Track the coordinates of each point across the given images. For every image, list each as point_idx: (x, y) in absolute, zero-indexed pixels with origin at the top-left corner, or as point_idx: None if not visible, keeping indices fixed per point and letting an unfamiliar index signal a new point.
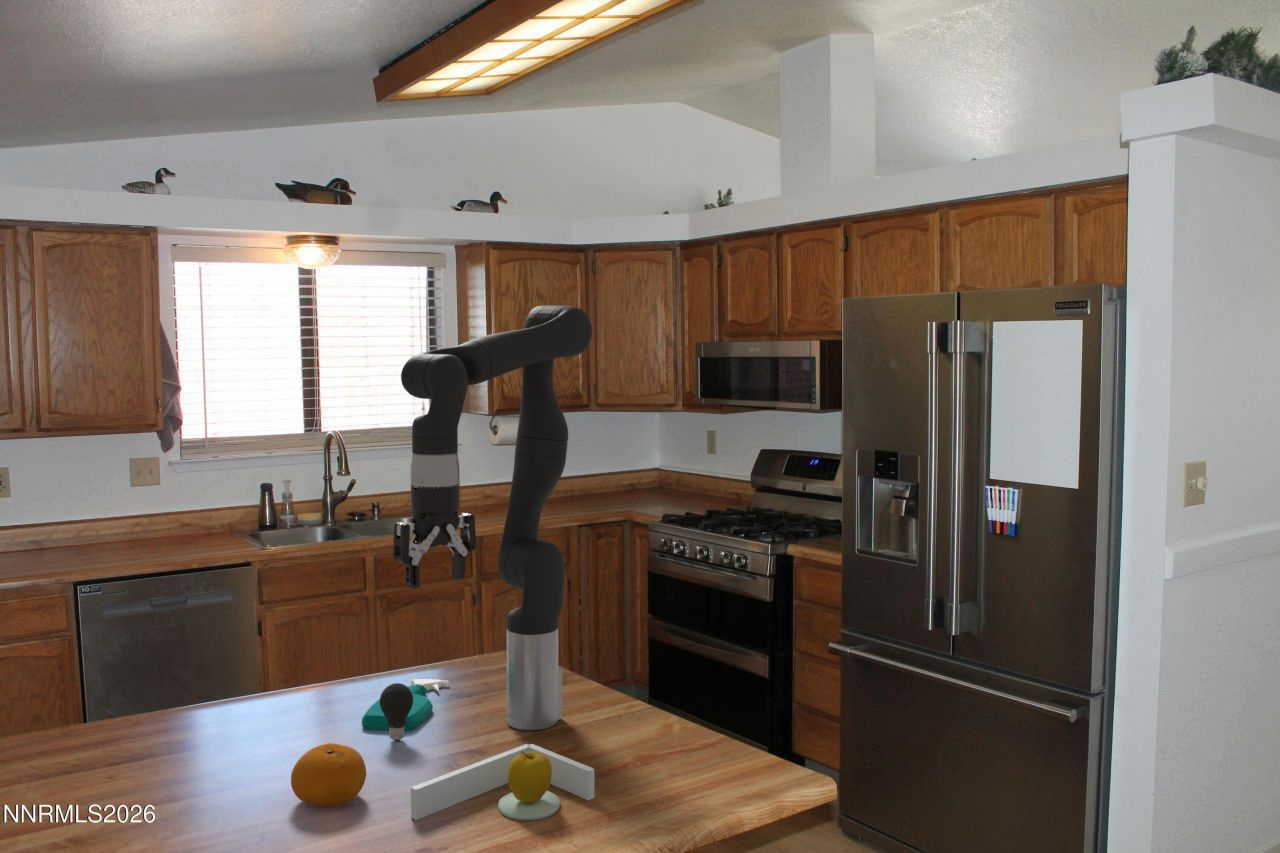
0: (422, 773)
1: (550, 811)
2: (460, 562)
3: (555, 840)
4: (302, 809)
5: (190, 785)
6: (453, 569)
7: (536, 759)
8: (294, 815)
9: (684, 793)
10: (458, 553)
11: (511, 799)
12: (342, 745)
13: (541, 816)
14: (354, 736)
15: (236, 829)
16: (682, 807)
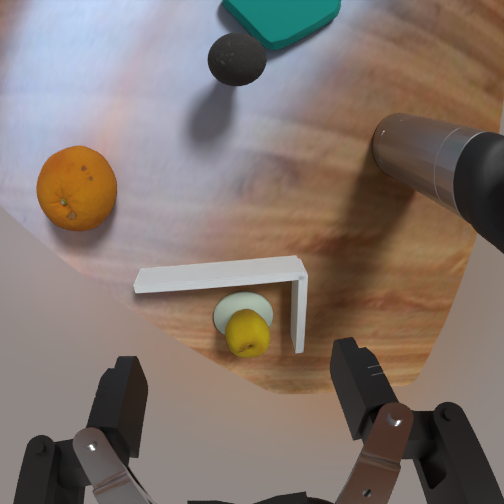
0: (202, 181)
1: None
2: (348, 423)
3: (222, 363)
4: None
5: (5, 63)
6: (343, 369)
7: (249, 355)
8: None
9: None
10: (365, 442)
11: (234, 304)
12: (81, 191)
13: None
14: (199, 16)
15: (10, 188)
16: (329, 373)
